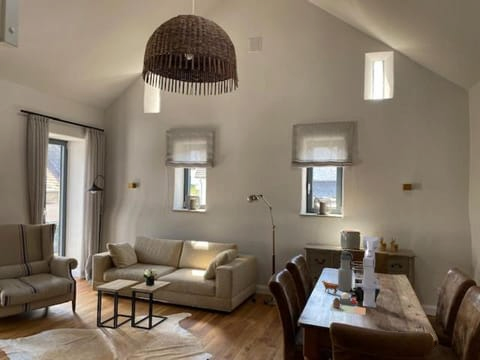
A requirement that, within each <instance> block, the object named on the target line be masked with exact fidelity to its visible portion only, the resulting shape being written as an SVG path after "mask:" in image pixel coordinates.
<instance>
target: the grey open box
mask: <svg viewBox="0 0 480 360" xmlns="http://www.w3.org/2000/svg"><path fill="white" fill-rule="evenodd" d="M341 296H342V295H340V296H339V298H338V299H339V300H340V305H346V306H354V307H358V301H357V298H355V297H351V296H349V300H348V299H341Z"/></svg>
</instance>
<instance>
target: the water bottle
mask: <svg viewBox="0 0 480 360" xmlns="http://www.w3.org/2000/svg"><path fill="white" fill-rule="evenodd" d="M340 254H341V255H340V267H339V268H338V271H337V272H338V273H337V274H338V276H337V285H338V287H339V288H337V289H338V291H341V292H346V291H348V292H351V291H352V290H353V270H352V269H354V266H353V264H354V263H355V262H354V261H353V259H354V254H353V253H352V252H350V251H347V250H344V251H343V250H342V251H341V253H340ZM351 263H352V264H351ZM351 265H352V266H351ZM354 265H355V264H354ZM351 289H352V290H351ZM350 290H351V291H350Z"/></svg>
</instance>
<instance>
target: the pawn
mask: <svg viewBox="0 0 480 360" xmlns="http://www.w3.org/2000/svg"><path fill="white" fill-rule="evenodd" d="M339 299H340V298H338V297H335V298H334V299H333V300H332V301H333V302H332V304H333V308H336V309H339V308H340V305H341V304H340V300H339Z"/></svg>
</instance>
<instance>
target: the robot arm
mask: <svg viewBox="0 0 480 360" xmlns="http://www.w3.org/2000/svg"><path fill="white" fill-rule="evenodd" d="M362 245H363V250H365V251H364V257H363V258H362V259H363V260H362V265H363V277H362V279H361V283H355V288H356V289H357V292H358V294H359V298H360V299H359V300H360V301H361V302H362V306H363V307H368V308H377V299H378V296H379V295H380V292H381V291H382V290H383V288H382V287H383V286H380V285H379V280H378V278H376V277H375V268H376V251H379V249H380V238H379V237H376V236H375V237H374V236H363V238H362ZM362 291H363V293H362ZM362 294H363V295H362ZM362 299H363V300H362Z"/></svg>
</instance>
